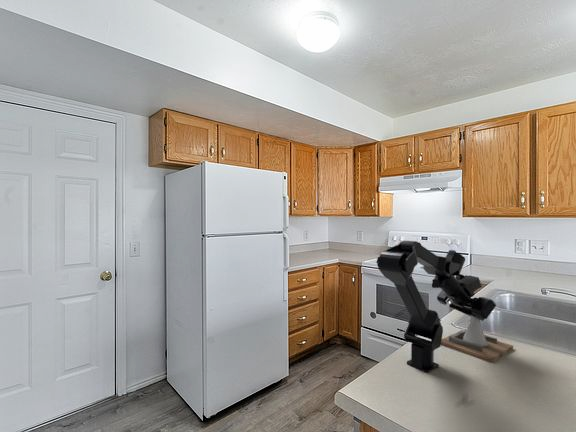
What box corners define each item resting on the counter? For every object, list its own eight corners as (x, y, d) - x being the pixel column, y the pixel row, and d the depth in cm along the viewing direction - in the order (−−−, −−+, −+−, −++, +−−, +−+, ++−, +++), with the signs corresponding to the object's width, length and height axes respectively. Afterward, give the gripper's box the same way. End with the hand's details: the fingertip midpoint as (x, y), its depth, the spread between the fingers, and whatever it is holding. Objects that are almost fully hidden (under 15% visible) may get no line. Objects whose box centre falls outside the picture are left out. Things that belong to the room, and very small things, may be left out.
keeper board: (491, 362, 89) (491, 353, 89) (438, 344, 102) (438, 336, 102) (513, 349, 98) (513, 340, 98) (461, 333, 111) (461, 326, 111)
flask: (492, 348, 96) (493, 317, 96) (468, 346, 97) (468, 315, 97) (481, 339, 103) (482, 310, 103) (459, 337, 104) (459, 308, 104)
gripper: (491, 273, 90) (519, 307, 93) (443, 264, 108) (468, 292, 111) (469, 301, 88) (499, 335, 91) (425, 287, 106) (451, 316, 109)
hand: (478, 317), depth 101 cm, fingers open, 3 cm apart
